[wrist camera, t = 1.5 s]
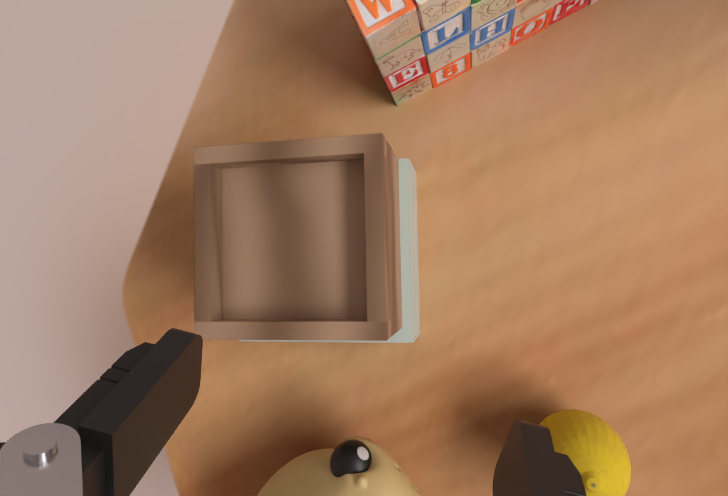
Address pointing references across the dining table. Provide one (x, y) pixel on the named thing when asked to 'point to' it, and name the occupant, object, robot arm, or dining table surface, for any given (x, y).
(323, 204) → the wooden box
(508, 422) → the dining table surface
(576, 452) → the lemon
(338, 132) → the dining table surface
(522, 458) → the robot arm
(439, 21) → the stack of blocks
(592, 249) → the dining table surface
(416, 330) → the tower base
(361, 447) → the cream pug plush toy
